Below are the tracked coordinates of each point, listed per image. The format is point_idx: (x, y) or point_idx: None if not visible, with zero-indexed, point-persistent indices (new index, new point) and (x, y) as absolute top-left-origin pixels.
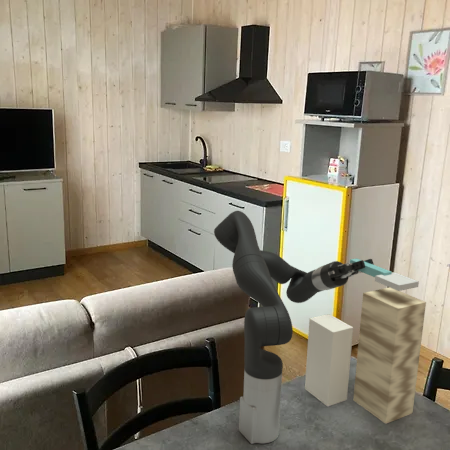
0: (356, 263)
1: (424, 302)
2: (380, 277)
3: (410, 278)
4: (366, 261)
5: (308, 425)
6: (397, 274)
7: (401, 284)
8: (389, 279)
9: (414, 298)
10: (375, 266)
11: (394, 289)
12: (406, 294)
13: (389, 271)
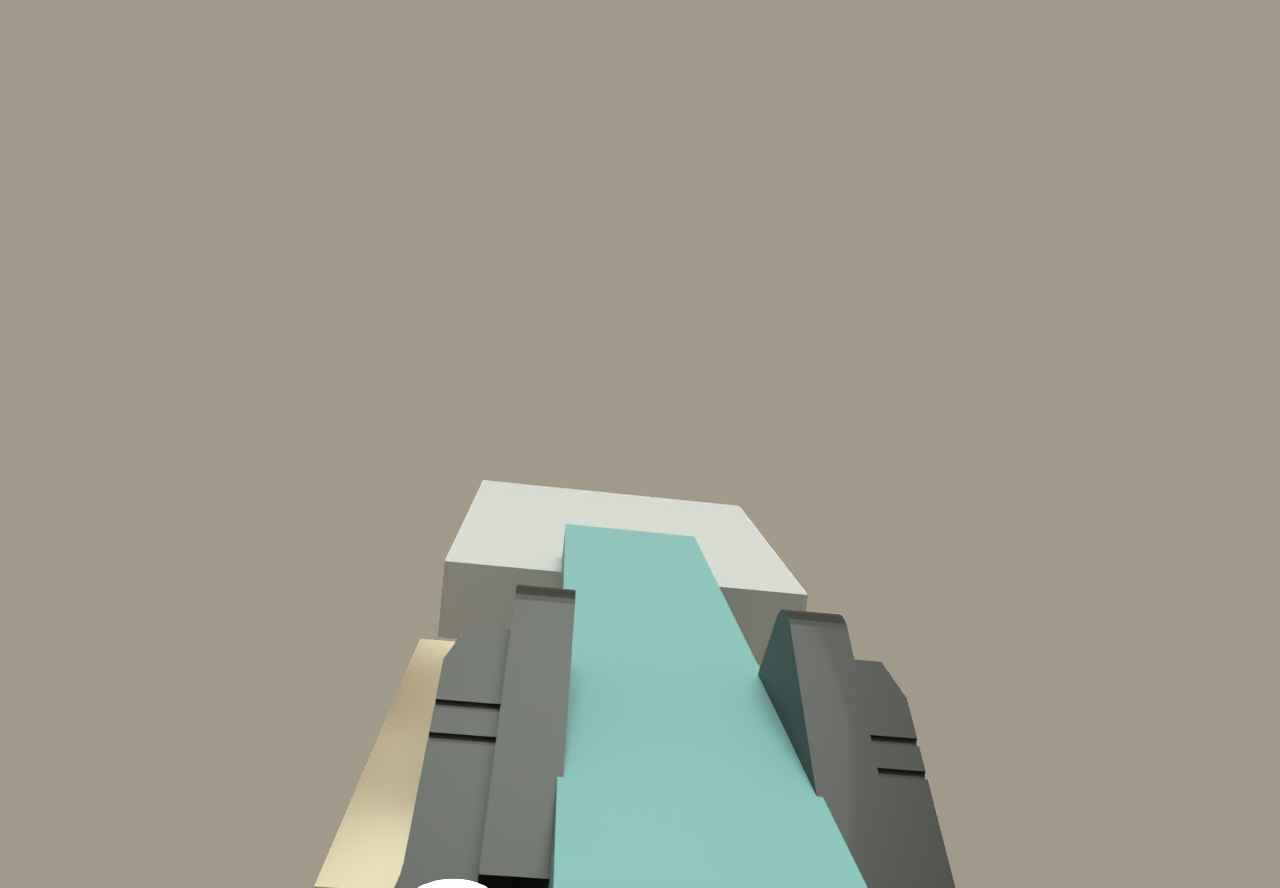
0: (912, 735)
1: (439, 641)
2: (784, 570)
3: (482, 500)
4: (563, 712)
5: None
6: (495, 542)
7: (704, 503)
8: (722, 541)
9: (429, 682)
10: (607, 610)
11: (350, 830)
12: (390, 733)
13: (585, 530)
